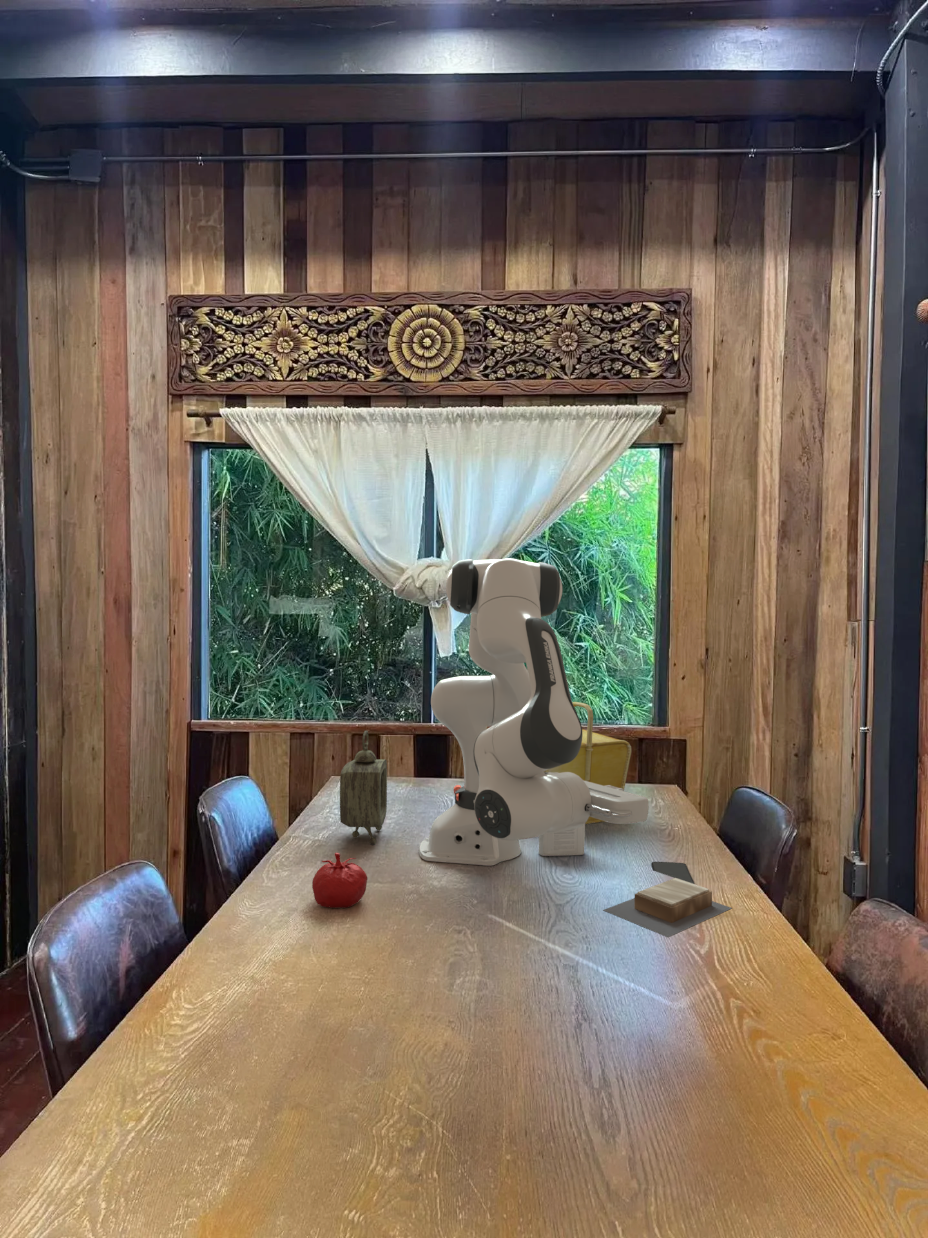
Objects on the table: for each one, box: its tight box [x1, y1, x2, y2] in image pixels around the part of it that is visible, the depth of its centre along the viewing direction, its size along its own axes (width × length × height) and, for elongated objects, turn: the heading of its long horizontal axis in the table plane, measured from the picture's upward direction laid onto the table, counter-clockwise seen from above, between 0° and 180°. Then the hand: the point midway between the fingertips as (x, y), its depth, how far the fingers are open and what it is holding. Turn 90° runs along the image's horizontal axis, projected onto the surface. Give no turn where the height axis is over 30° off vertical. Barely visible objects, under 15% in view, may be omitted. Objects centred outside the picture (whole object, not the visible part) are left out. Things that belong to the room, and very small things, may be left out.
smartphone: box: [650, 861, 696, 885], centre depth 158 cm, size 7×1×15 cm
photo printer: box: [538, 824, 586, 857], centre depth 172 cm, size 10×4×12 cm, turn 98°
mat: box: [602, 897, 733, 938], centre depth 140 cm, size 19×14×1 cm
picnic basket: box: [544, 701, 632, 825], centre depth 204 cm, size 29×26×30 cm
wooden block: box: [634, 878, 713, 923], centre depth 141 cm, size 3×8×12 cm
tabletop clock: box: [339, 730, 388, 846], centre depth 182 cm, size 14×9×25 cm, turn 179°
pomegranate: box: [311, 852, 368, 909], centre depth 144 cm, size 10×10×9 cm
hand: (617, 791), depth 132 cm, fingers closed
